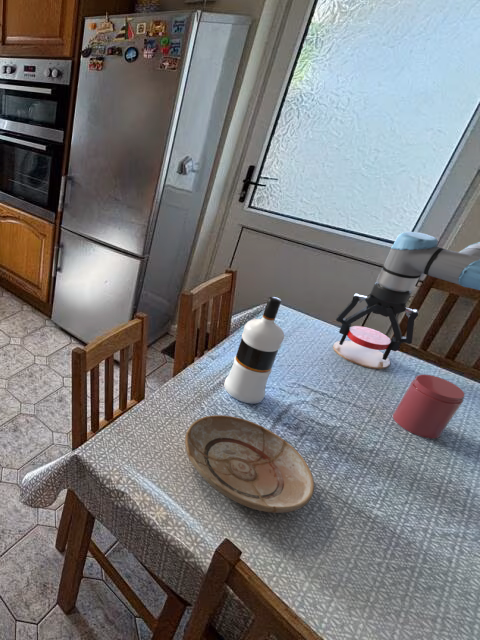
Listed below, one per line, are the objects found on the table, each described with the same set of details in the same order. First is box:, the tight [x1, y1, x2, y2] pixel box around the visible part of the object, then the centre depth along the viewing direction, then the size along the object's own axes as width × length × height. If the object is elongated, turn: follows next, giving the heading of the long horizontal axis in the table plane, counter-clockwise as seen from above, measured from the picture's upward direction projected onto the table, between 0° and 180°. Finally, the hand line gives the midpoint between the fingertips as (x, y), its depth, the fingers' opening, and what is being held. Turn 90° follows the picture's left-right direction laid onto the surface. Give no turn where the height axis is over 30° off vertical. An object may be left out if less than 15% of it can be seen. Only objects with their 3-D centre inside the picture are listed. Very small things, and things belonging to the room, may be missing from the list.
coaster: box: [332, 339, 391, 370], centre depth 125 cm, size 13×13×1 cm
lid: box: [346, 325, 391, 351], centre depth 123 cm, size 9×9×2 cm
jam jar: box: [392, 374, 465, 440], centre depth 99 cm, size 8×8×12 cm
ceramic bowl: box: [184, 414, 315, 514], centre depth 90 cm, size 23×24×5 cm
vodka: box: [223, 296, 285, 405], centre depth 106 cm, size 9×9×30 cm
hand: (362, 350), depth 125 cm, fingers closed on lid, 9 cm apart
